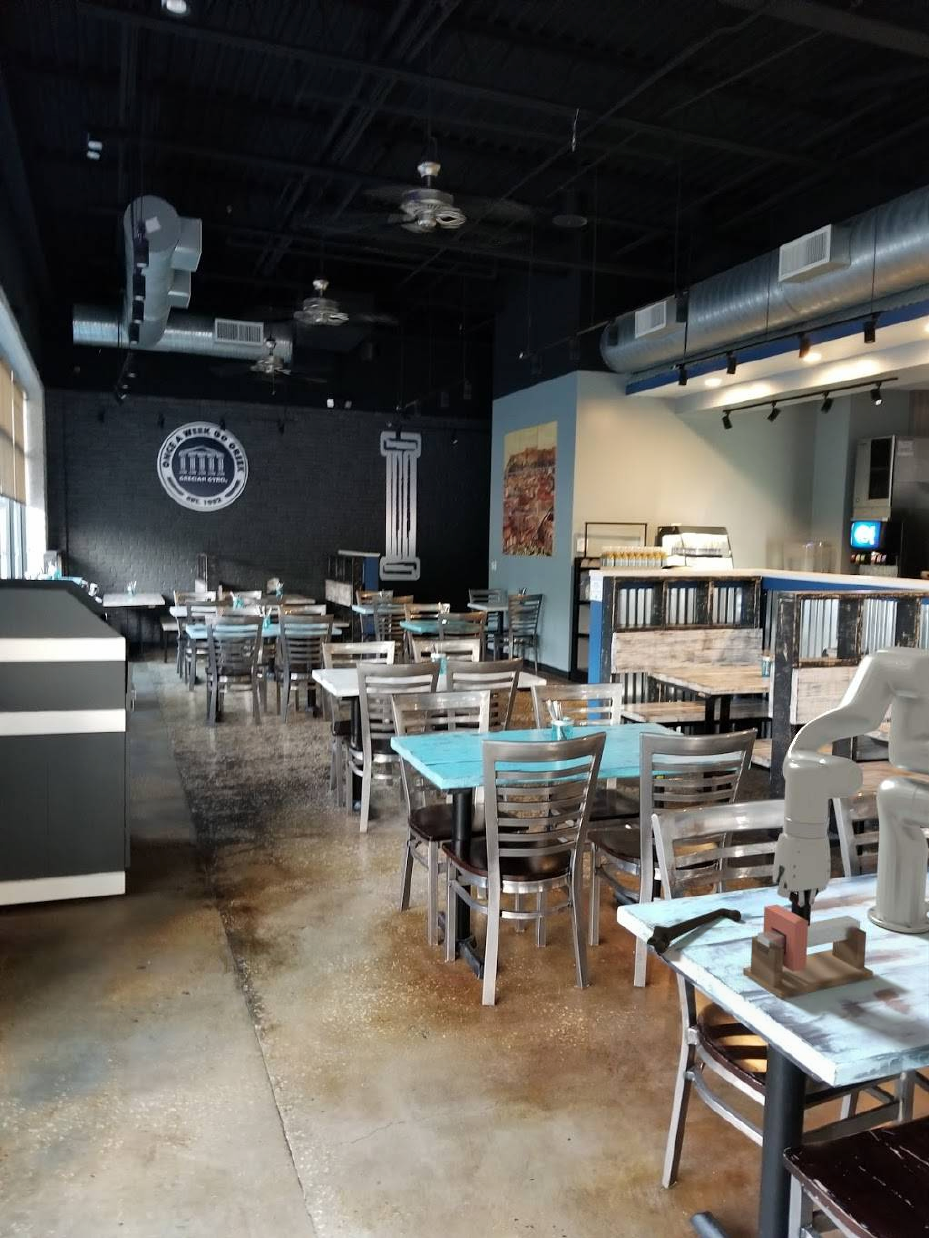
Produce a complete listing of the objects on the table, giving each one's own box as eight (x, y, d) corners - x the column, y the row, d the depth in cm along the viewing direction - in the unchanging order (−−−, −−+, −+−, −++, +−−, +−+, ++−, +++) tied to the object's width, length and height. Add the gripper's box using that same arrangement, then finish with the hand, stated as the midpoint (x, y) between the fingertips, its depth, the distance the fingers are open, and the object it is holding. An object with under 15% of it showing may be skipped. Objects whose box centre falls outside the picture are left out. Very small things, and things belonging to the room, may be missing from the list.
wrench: (742, 928, 196) (665, 962, 175) (721, 923, 200) (643, 955, 179) (743, 904, 196) (666, 935, 175) (722, 899, 200) (644, 928, 179)
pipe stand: (832, 955, 180) (833, 915, 179) (872, 977, 170) (874, 936, 170) (743, 974, 171) (744, 933, 170) (780, 999, 162) (782, 955, 161)
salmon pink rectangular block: (774, 950, 172) (776, 904, 172) (805, 968, 165) (808, 920, 164) (762, 952, 171) (764, 906, 170) (793, 971, 164) (795, 923, 163)
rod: (846, 930, 176) (847, 913, 176) (860, 938, 173) (861, 920, 173) (756, 949, 167) (757, 931, 167) (769, 957, 164) (770, 938, 164)
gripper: (820, 817, 174) (816, 910, 175) (758, 826, 168) (754, 922, 169) (851, 829, 167) (846, 925, 168) (788, 838, 161) (783, 938, 162)
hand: (800, 923), depth 169 cm, fingers closed
